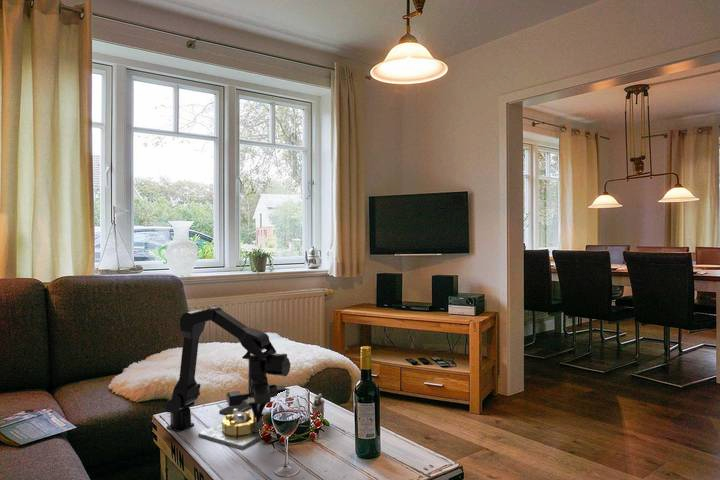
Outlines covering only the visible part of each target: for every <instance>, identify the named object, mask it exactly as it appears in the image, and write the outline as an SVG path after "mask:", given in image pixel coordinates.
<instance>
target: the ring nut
mask: <svg viewBox="0 0 720 480" xmlns="http://www.w3.org/2000/svg"><path fill="white" fill-rule="evenodd" d="M267 412H268V411H262V414H261V417H260V420H259V422H256V420H255V417H254V414H253V413H251V412H250V411H248V410H247V411H245V413H246V422H245V423H240V424H236V421H234V414H233V415H225V417H224V418H222V419H221V423H222V430H223V432H224V434H227V435H234V436H237V435H238V436H239V435H244V434H249V433H250V432H251V433H252V432H259V429H260V428H262V427H263V426H264V424H263V421H262V416H263V415H264V414H265V413H267Z"/></svg>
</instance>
